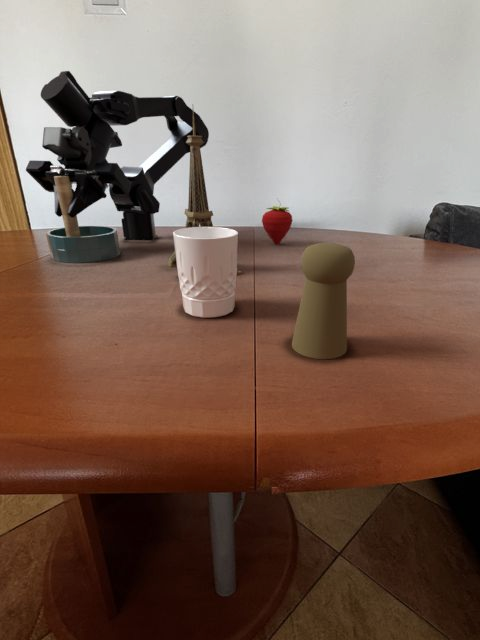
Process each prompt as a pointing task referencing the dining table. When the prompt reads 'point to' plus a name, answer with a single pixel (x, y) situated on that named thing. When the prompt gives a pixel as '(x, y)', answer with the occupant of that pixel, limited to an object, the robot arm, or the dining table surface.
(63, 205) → the stick
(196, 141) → the eiffel tower
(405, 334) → the dining table surface
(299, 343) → the cork
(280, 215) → the strawberry
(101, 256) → the bowl
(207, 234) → the white cup
